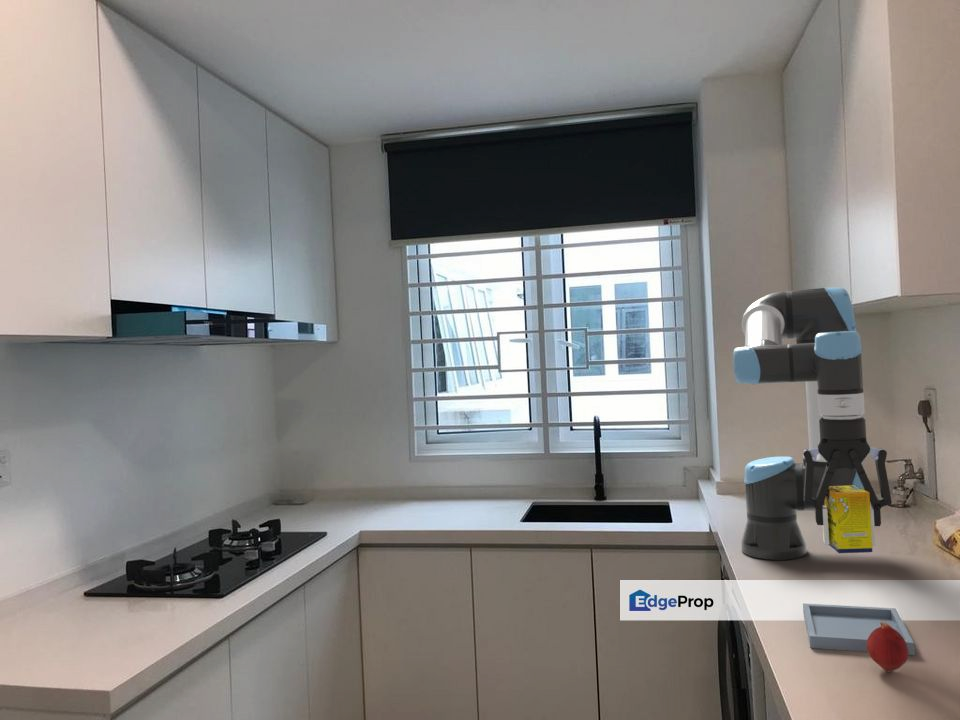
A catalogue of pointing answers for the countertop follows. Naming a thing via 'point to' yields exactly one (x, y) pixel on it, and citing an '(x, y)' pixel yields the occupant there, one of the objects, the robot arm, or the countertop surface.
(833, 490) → the supplement box
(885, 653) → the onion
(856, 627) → the slate tray
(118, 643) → the countertop surface
